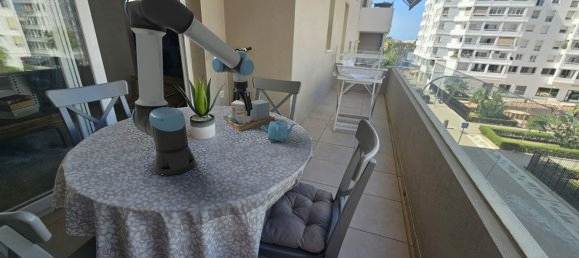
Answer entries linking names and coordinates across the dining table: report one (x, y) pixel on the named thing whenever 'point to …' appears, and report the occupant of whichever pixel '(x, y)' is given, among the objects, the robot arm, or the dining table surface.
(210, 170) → the dining table surface
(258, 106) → the block
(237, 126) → the pallet
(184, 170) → the robot arm
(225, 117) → the console
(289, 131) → the teapot
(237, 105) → the white labeled carton
